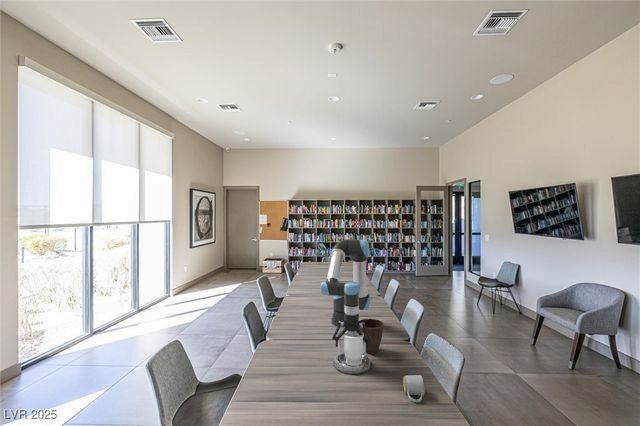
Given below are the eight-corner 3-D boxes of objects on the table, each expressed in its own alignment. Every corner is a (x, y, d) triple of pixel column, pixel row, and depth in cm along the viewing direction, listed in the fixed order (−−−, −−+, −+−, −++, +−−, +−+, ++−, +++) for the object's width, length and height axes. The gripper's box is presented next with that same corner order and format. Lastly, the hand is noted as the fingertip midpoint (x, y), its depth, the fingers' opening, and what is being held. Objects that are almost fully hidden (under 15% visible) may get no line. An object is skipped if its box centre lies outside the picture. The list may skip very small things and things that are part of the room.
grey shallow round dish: (326, 364, 154) (326, 357, 154) (350, 352, 167) (350, 346, 167) (353, 379, 140) (353, 371, 140) (377, 365, 153) (377, 358, 153)
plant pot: (368, 359, 159) (368, 329, 159) (352, 348, 172) (352, 321, 172) (389, 353, 166) (389, 325, 166) (373, 343, 179) (373, 317, 179)
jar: (358, 356, 160) (358, 328, 160) (367, 365, 150) (367, 336, 150) (340, 359, 156) (340, 331, 156) (349, 369, 146) (348, 339, 147)
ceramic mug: (402, 387, 133) (402, 370, 133) (421, 388, 132) (421, 371, 132) (406, 402, 122) (406, 384, 122) (426, 404, 121) (426, 386, 121)
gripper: (327, 314, 152) (327, 355, 151) (376, 316, 148) (376, 358, 148) (328, 309, 159) (328, 349, 159) (375, 311, 156) (375, 351, 155)
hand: (351, 353), depth 153 cm, fingers open, 13 cm apart
